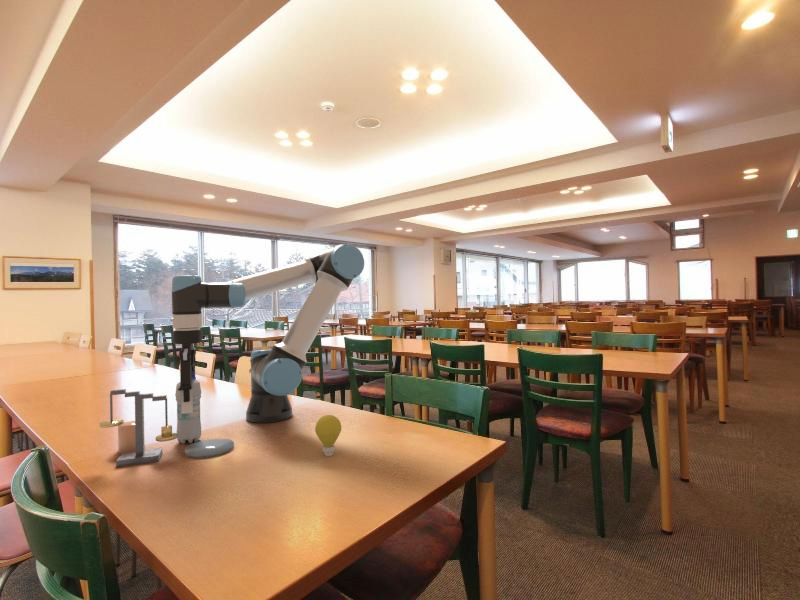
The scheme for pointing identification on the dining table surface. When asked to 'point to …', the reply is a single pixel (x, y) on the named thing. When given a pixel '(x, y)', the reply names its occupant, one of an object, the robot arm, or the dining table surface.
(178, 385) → the bottle
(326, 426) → the light bulb
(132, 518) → the dining table surface
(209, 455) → the dish
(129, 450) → the peach rounded capsule
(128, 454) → the balance
